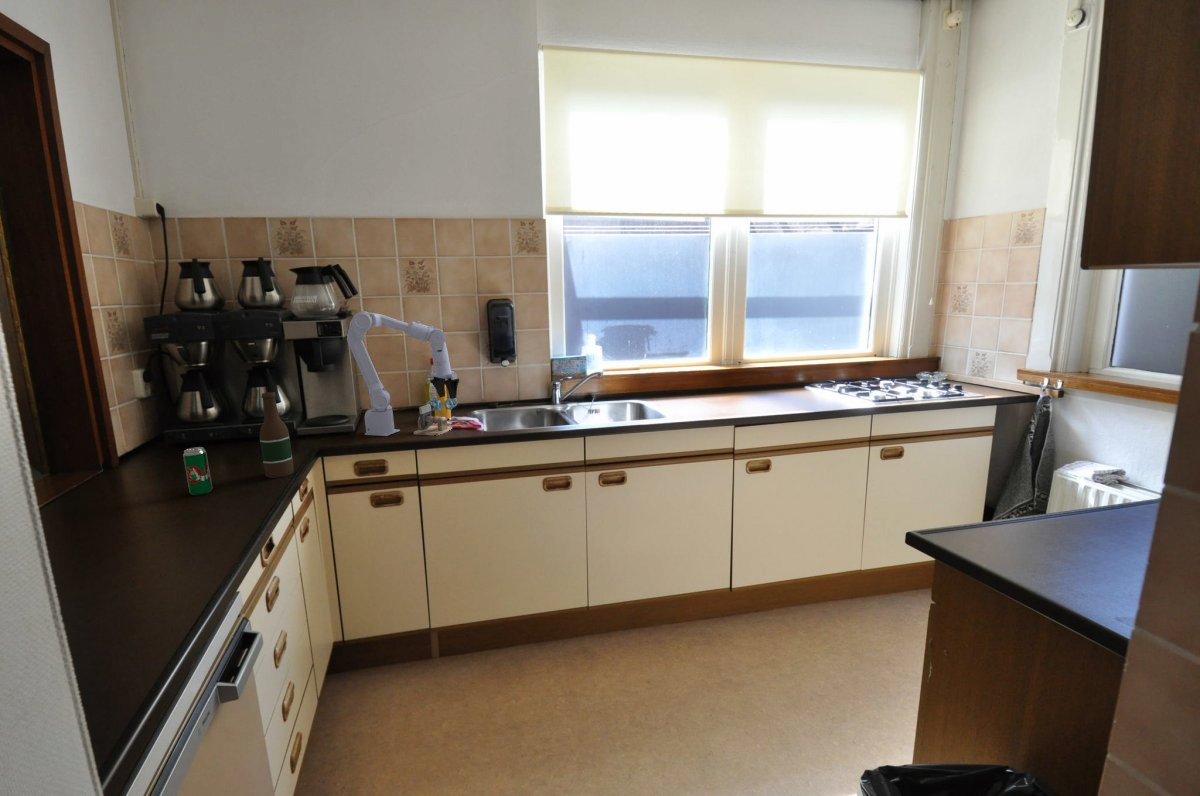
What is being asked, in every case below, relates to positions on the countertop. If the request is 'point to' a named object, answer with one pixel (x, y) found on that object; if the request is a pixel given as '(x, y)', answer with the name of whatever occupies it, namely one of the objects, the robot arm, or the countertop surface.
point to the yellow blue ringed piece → (442, 405)
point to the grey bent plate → (423, 412)
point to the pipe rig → (433, 430)
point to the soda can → (197, 471)
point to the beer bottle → (274, 441)
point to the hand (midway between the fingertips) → (447, 397)
